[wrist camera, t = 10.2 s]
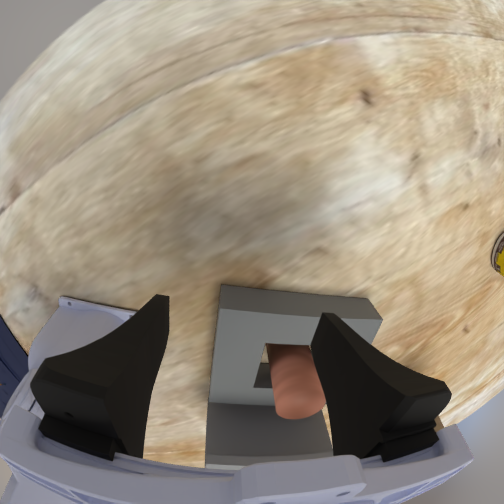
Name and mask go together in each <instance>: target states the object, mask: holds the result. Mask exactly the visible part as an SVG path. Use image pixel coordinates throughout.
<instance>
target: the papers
mask: <svg viewBox="0 0 504 504" xmlns="http://www.w3.org/2000/svg"><path fill="white" fill-rule="evenodd" d="M28 372H29V367H28V357H27V355H26V354H25V353H24V351H23V350H22V349H21V347H20V346H19V344H18V343H17V342H16V340H15V339H14V337H13V336H12V334H11V333H10V331H9V330H8V328H7V327H6V325H5V324H4V322H3V320H2V319H1V317H0V418H2V416H3V412H4V410H5V408H6V406H7V404H8V402H9V400H10V398H11V396H12V395H13V393H14V391H15V390H16V388H17V387H18V385H19V384H20V382H21V381H22V379H23V378H24V377H25V375H26V374H27V373H28Z"/></svg>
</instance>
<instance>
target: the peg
mask: <svg viewBox="0 0 504 504" xmlns="http://www.w3.org/2000/svg"><path fill="white" fill-rule="evenodd" d="M266 347H267V354H268V360H269V367H270V374H271V380H272V387H273V394H274V401H275V407H276V412H277V414H278V415H279V416H280V417H282V418H285V419H302V418H306V417H309V416H311V415H314V414H315V413H317V412H319V411H320V410H321V409H322V408H323V407H324V405H325V403H326V399H325V396H324V393H323V389H322V386H321V383H320V380H319V377H318V374H317V371H316V368H315V365H314V361H313V358H312V355H311V352H310V349H309V346H308V345H292V344H274V343H266Z"/></svg>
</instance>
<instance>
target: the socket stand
mask: <svg viewBox="0 0 504 504" xmlns="http://www.w3.org/2000/svg"><path fill="white" fill-rule="evenodd" d="M322 312H326V313H334V314H336V315H337V316H338V317H339V318H341V319H342V320H343V321H344V322H345V323H346V324H347V325H349V326H350V327H351V328H352V329H353V330H354V331H355V332H356V333H358V334H359V335H360V336H361V337H362V338H363V339H365V340H366V341H367V342H368V343H370V344H371V343H372V342H373V340H374V338H375V336H376V333H377V331H378V329H379V327H380V325H381V323H382V321H383V319H382V317H381V316H380V315H379V313H378V312H377V310H376V309H375V308H374V306H373V305H372V303H371V302H370V301H369V299H366V298H352V297H339V296H327V295H316V294H305V293H294V292H284V291H274V290H265V289H255V288H246V287H238V286H229V285H221V291H220V299H219V307H218V315H217V323H216V331H215V340H214V349H213V357H212V366H211V376H210V391H209V398H208V407H207V426H206V447H205V468H208V469H222V470H240V469H241V468H243V467H245V466H249V465H252V464H256V463H265V462H277V461H295V460H307V459H317V458H325V457H333V448H332V445H331V441H330V437H329V434H328V430H327V427H326V423H325V420H324V416H323V413H322V409H321V410H320V411H319V412H317V413H315V414H314V415H311V416H309V417H306V418H302V419H285V418H282V417H280V416H279V415H278V414H277V412H276V407H275V401H274V394H273V387H272V380H271V374H270V367H269V364H268V363H260V361H261V357H262V354H263V350H264V346H265V343H274V344H292V345H311V342H312V339H313V336H314V334H315V331H316V328H317V326H318V323H319V320H320V317H321V314H322ZM311 355H312V350H311ZM312 358H313V356H312ZM323 393H324V392H323ZM324 396H325V395H324ZM325 404H327V403H325Z"/></svg>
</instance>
